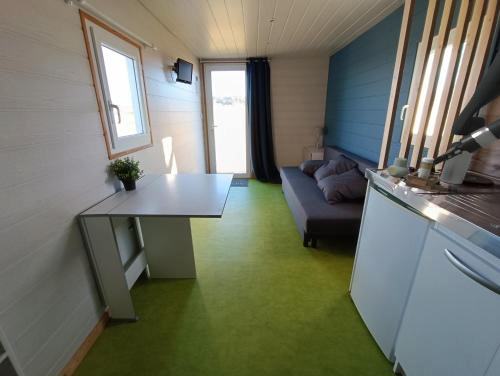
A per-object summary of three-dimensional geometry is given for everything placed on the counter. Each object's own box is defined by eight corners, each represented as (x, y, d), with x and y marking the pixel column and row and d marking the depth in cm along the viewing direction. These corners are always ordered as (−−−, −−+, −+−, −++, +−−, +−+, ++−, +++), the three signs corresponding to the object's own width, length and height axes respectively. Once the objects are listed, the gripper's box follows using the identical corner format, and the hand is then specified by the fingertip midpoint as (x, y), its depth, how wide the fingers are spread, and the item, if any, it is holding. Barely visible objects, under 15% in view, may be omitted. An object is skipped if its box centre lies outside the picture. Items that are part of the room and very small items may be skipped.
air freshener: (383, 173, 135) (387, 156, 131) (395, 173, 136) (400, 156, 133) (398, 179, 125) (402, 161, 121) (411, 178, 126) (416, 160, 123)
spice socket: (412, 181, 122) (415, 171, 120) (443, 187, 112) (446, 177, 111) (405, 185, 114) (407, 175, 112) (437, 193, 105) (440, 182, 103)
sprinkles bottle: (428, 185, 113) (436, 158, 108) (424, 187, 110) (432, 159, 106) (417, 182, 116) (425, 156, 112) (413, 184, 114) (421, 157, 109)
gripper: (472, 131, 101) (432, 153, 112) (470, 134, 91) (427, 157, 103) (484, 145, 99) (442, 165, 111) (484, 149, 90) (438, 171, 101)
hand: (435, 161), depth 107 cm, fingers open, 8 cm apart
